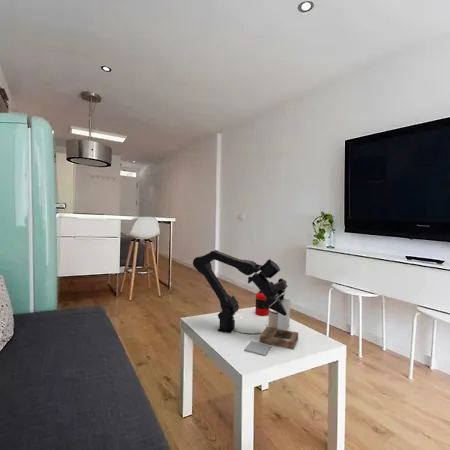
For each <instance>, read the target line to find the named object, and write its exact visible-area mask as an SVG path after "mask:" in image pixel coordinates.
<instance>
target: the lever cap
mask: <svg viewBox="0 0 450 450" xmlns="http://www.w3.org/2000/svg"><path fill="white" fill-rule="evenodd" d="M280 304H281V306H282V307H283V309H284V311H285V312H286V315H285V316H284V315H282V314H280V313H278V329H282V330H288V329H289V327H290V318H291V317H290V316H291V299H287V298H284V299H283V298H281V299H280Z"/></svg>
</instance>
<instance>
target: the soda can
mask: <svg viewBox="0 0 450 450" xmlns="http://www.w3.org/2000/svg"><path fill="white" fill-rule="evenodd" d="M259 291H260V290H259ZM259 291H257V292H256V294H255V314H256V315H257V316H260V317H267V316H269V310H268V309H269V307H268V308H266V309H264V308H263V306H262V303H263V302H264V301H265V299H266V297H265V296H264V295H263V293H260V292H259Z"/></svg>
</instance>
